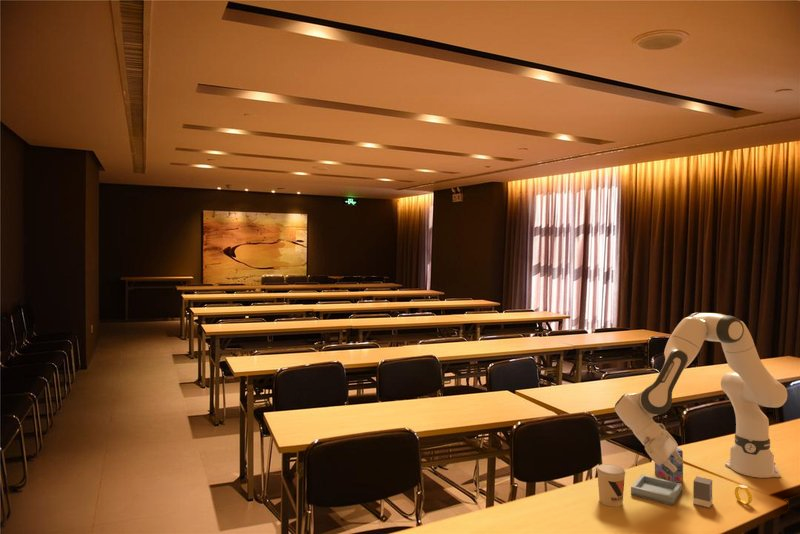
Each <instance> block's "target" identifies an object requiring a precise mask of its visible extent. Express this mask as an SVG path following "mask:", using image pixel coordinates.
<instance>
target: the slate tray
mask: <svg viewBox="0 0 800 534" xmlns="http://www.w3.org/2000/svg"><path fill="white" fill-rule="evenodd" d="M682 487H683V485H682V483H681V482H672V481H668V480H666V479H664V478H660V477H659V478H658V477H653V476H651V475H646V474H641V475H640V476H639V477H638V478H637V479H636V481H635V482H634V483H632V485H631V486H630V495H631V496H634V497H638V498H642V499H646V500H650V501H653V502H656V503H661V504H665V505H668V506H674V504H675V503H676V502H677V500H678V498H679V497H680V495H681V493H682V490H683V489H682Z"/></svg>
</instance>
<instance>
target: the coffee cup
mask: <svg viewBox="0 0 800 534" xmlns="http://www.w3.org/2000/svg"><path fill="white" fill-rule="evenodd" d="M596 471H597V484H598V485H597V487H598V496H599V497H598V498H599V502H600V503H601V504H603V505H605V506H607V507H612V508H614V507H615V508H616V507H621V506H622V505H623V504H624V503H623V501H624V491H625V490H624V489H625V478H626V477H625V475H626V471H625V469H624V468H623V467H622V466H620V465H617V464H612V463H603V464H602V463H601V464H599V465H598V466H597V468H596Z"/></svg>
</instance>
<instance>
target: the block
mask: <svg viewBox="0 0 800 534" xmlns="http://www.w3.org/2000/svg"><path fill="white" fill-rule="evenodd" d="M692 487H693V488H692V489H693V494H692V495H693V496H692V499H693V500H692V501H693V502H692V504H693V506H696V507H701V508H703V509H704V508H705V509H708V510H710V508H711V507H712V505H713V479H710V478H705V477H702V476H701V477H700V476H698V475H697V476H696V477H695V478H694V480H693V486H692Z"/></svg>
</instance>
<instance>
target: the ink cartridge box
mask: <svg viewBox="0 0 800 534" xmlns="http://www.w3.org/2000/svg"><path fill="white" fill-rule="evenodd" d="M676 450H677V451H678V453H679V455H680V457H681V458H682V459H683V457H684V455H683V454H684V453H683V450H682V449H680V448H678V447H677V448H676ZM668 459H669V461H670V462H671V463H672V464H673V465H675V466H676V467H677V471H676V472H672V471H671V470H670V469H669V468H668V467H666V466H665V465H664V464H661V465H660V466H659V465H657V464H656V463H655V462H654V474H656V475H658V476H659V477H661V478H662V479H664V478H665V479H664V480H667V481H672V482H676V483H681V482H684V462H683V463H681V464H679V463H678V462H677V461H676V459H675V457H674V456H672V454H671V456H670V457H669V458H668ZM683 460H684V459H683Z"/></svg>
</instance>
